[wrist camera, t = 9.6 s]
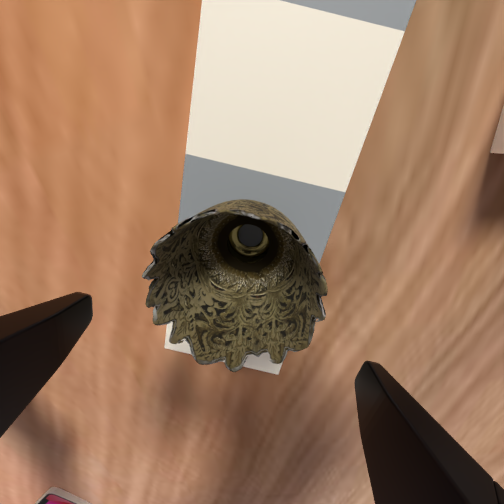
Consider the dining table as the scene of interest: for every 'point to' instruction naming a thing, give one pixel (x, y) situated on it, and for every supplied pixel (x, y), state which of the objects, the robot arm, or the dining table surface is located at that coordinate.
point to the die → (499, 136)
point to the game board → (285, 109)
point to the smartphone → (60, 497)
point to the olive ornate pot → (236, 285)
